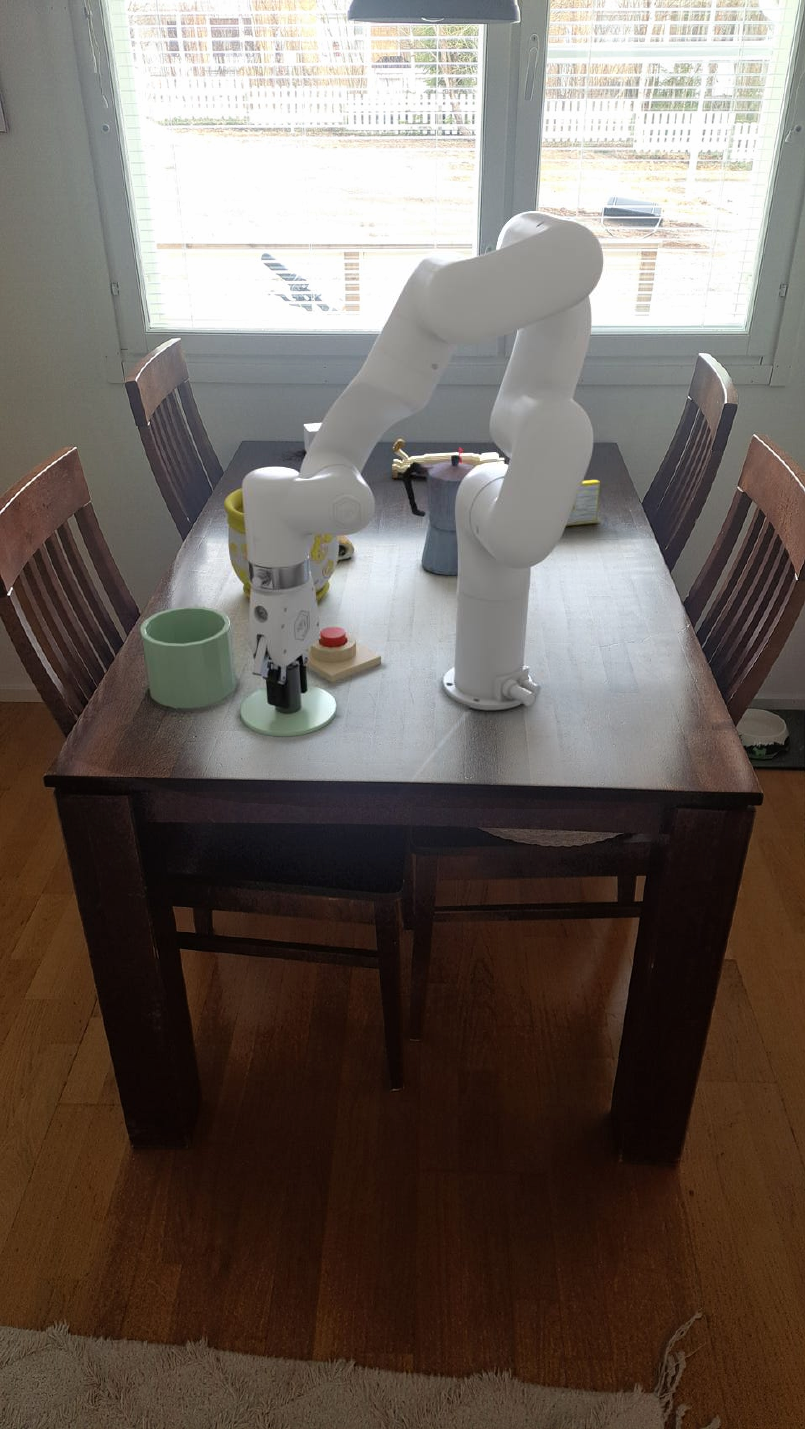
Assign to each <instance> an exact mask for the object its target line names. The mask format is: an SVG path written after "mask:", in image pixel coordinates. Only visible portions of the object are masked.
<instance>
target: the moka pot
mask: <svg viewBox="0 0 805 1429" xmlns="http://www.w3.org/2000/svg"><path fill="white" fill-rule="evenodd" d="M459 460H460V456H458V455H452V456H451V462H452V463H438V464H436V465H433V466H431V465H428V464H423V465H422V464H419V463H417V462H413V464H411V465H410V467H408V468H407V469H406V471H405V472H404V473H402V482H403V485H404V488H405V491H406V495H407V499H408V502H409V506H410V509H411V510H410V511H411V513H412V515H414V516H417V517H422V518H423V517H425V516H426V514H427V513H426V511H424V510H420V509H418V505H417V503H416V497H415V492H414V489H413V484H412V480H411V475H413V474H417V475H418V476H421V477H425V478H426V485H427V504H428V505H427V506H428V511H429V513H428V518H429V523H428V528H427V532H426V536H425V541H424V546H423V549H422V550H423V551H422V555H421V559H420V560H421V566H422V567H423V568H424V569H425V570H427V571H428V572H431V573H434V574H438V575H446V576H458V543H457V532H456V521H455V501H456V495H457V491H458V489H459V486H460V484H461V482H462V480H463V479H464V477H465V476H466V475H467V474H468V473H469V472H470V471H471V470H473V469H474V468H476V467H474V466H471V465H467V464H464V463H459ZM414 472H415V473H414Z"/></svg>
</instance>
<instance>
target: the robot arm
mask: <svg viewBox="0 0 805 1429" xmlns="http://www.w3.org/2000/svg"><path fill="white" fill-rule="evenodd" d="M603 270H604V251H603V248H602V245H601V243H600V240H599V239H598V237H597V235H595V233H594V232H593V231H592V230H591V229H590V228H588V227H587V226H586V225H584V224H582V223H580V222H578V221H576V220H573V219H569V218H565V217H561V216H558V215H556V214H552V213H549V212H544V211H536V210H535V211H532V210H531V211H525V212H521V213H518V214H516V215H515V216H513V217H511V219H510V220H508V221H507V222H506V224H505V225H504V226H503V227H502V229H501V232H500V234H499V236H498V240H497V244H496V249H494V250H492V251H489V252H486V253H482V254H480V255H479V254H478V255H476V256H471V257H469V256H466V255H464V254H461V253H458V252H455V251H451V250H435V251H432V252H429V253H427V254H425V255H423V256H422V257H421V258H420V259H419V260H418V262H416V264H415V265H414V266H413V268H412V269H411V271H410V273H409V274H408V276H407V278H406V280H405V282H404V284H403V285H402V288H401V289H400V292H399V294H398V296H397V297H396V299H395V302H394V303H393V306H392V308H391V310H390V312H389V314H388V316H387V318H386V320H385V321H384V324H383V326H382V327H381V330H380V331H379V334H378V336H377V338H376V339H375V341H374V343H373V345H372V347H371V349H370V351H369V353H368V355H367V357H366V359H365V361H364V363H363V365H362V366H361V368H360V369H359V372H358V373H357V374H356V375H355V377H353V379H351V381H350V382H349V384H348V385H347V386H346V388H345V389H344V390H343V392H341V394H340V395H339V397H338V398H336V400H335V401H334V403H333V404H332V406H331V407H330V408H329V410H328V412H326V415H325V416H324V417H323V420H322V422H320V423H321V425H320V427H319V429H318V431H317V433H316V435H315V437H314V439H313V441H312V443H311V445H310V447H309V449H308V451H307V452H306V453H305V456H304V457H303V460H302V463H301V466H300V471H298V470H296V469H293V468H289V467H284V466H265V467H261V468H257V469H254V470H252V471H250V472H248V473H247V474H246V475H245V477H244V478H243V479H242V484H241V488H242V497H243V509H244V521H245V533H246V545H247V557H248V569H249V581H250V585H251V587H252V588H251V591H250V598H249V605H248V606H249V608H248V609H249V610H248V612H249V613H248V623H249V624H248V625H249V628H248V630H249V646H250V651H251V656H252V658H253V660H254V662H253V665H252V666H253V668H252V672H251V674H252V675H253V676H257V677H261V678H262V680H264V681H265V687H266V689H267V702H268V704H270V705H273V706H277V707H281V708H285V709H288V708H289V707H290V690H289V681H286V666H288V665H289V664H290V663H292V662H293V661H294V660H297V661H298V662H299V665H300V682H301V693H306V692H307V685H308V676H307V675H308V674H307V673H308V672H307V667H306V666H305V665H306V664H307V662H308V655H307V651H308V648H310V647H311V646H312V645H313V644H314V643H315V642H316V641H317V640H318V638H319V633H320V618H319V610H318V608H319V607H318V602H317V599H316V592H315V586H314V582H313V578H312V575H311V572H310V564H309V542H308V533H309V534H322V535H334V536H351V535H354V534H356V533H357V534H358V532H360V531H362V530H364V529H365V528H366V527H368V526H369V524H370V523H371V521H372V519H373V517H374V515H375V511H376V501H375V498H374V495H373V494H374V493H373V492H372V489H371V488H370V486H369V485H368V483H367V482H366V480H365V479H364V476H363V475H362V474H361V473H362V472H363V470H364V468H365V465H366V463H367V461H368V459H369V457H370V456H371V455H372V452H373V450H374V449H375V448H376V446H377V444H378V442H379V441H380V440H381V438H382V437H383V436H384V434H385V433H387V431H388V430H389V429H390V428H391V427H392V426H394V425H395V424H396V423H398V422H400V421H402V420H404V419H406V418H409V417H411V416H413V415H415V414H418V413H419V412H420V411H422V410H423V409H424V408H425V407H426V406H427V405H428V403H429V402H430V400H431V398H432V395H433V394H434V392H435V390H436V388H437V386H438V384H439V383H440V380H441V378H442V377H443V374H444V373H445V371H446V370H447V368H448V365H449V363H450V361H451V359H452V358H453V356H454V355H455V352H456V350H457V349H458V347H461V346H463V347H469V346H474V345H479V344H482V343H486V342H488V341H493V340H495V339H498V338H500V337H503V336H506V335H509V334H511V333H514V332H516V331H517V332H516V335H515V340H514V344H513V348H512V352H511V355H510V357H509V361H508V363H507V367H506V370H505V373H504V375H503V379H502V382H501V384H500V387H499V390H498V394H497V396H496V399H495V401H494V405H493V408H492V411H491V415H490V420H489V433H490V436H491V439H492V441H493V443H494V444H495V445H496V447H498V449H499V450H500V451H501V452H502V453H503V454H504V455H505V456H506V457H507V458H509V461H508V464H507V463H506V464H503V463H497V462H492V463H485V464H482V465H479V466H477V467H476V468H474V469H473V470H471V471H470V472H469V473H468V474H467V475H466V476H465V477H464V479H463V480H462V482H461V484H460V486H459V489H458V491H457V495H456V501H455V521H456V532H457V543H458V574H457V585H456V614H455V616H456V617H455V644H454V666H453V667H451V668H449V669H448V670H447V671H446V673H444V675H443V677H442V678H443V679H442V688H443V690H444V693H446V694H447V696H448V697H450V698H451V699H452V700H454V701H456V702H458V703H461V704H463V705H465V706H468V708H469V709H473V710H474V709H475V710H481V711H503V710H509V709H512V708H514V707H518V706H520V705H524V706H526V707H530V706H532V705H533V704H534V702H535V700H536V695H538V694H539V693H540V691H541V686H540V685H539V684H537V683H536V682H534V681H533V678H532V676H531V675H530V673H529V672H530V666H528V665H526V664H525V663H524V662H525V649H526V648H525V647H526V635H527V625H528V624H527V623H528V612H529V611H528V609H529V596H530V588H531V572H532V571H531V570H532V569H531V568H532V567H534V566H536V565H538V564H540V563H542V562H543V561H544V560H546V558H548V557H549V555H551V554H552V552H553V551H554V549H555V548H556V547H557V545H558V543H559V541H560V540H561V538H562V535H563V533H564V531H565V528H566V527H567V526H566V524H567V521H568V519H569V516H570V513H571V511H572V508H573V506H574V503H575V501H576V498H577V495H578V493H579V490H580V487H581V485H582V482H583V481H585V480H584V479H585V477H586V474H587V471H588V468H589V466H590V462H591V460H592V455H593V452H594V451H593V448H594V430H593V425H592V422H591V419H590V417H589V416H588V414H587V412H586V411H585V409H583V407H582V406H581V405H580V404H579V403H578V402H576V401H575V400H574V395H575V392H576V389H577V384H578V382H579V379H580V375H581V372H582V369H583V365H584V363H585V359H586V356H587V353H588V349H589V344H590V340H591V333H592V321H593V320H592V319H593V318H592V305H591V300H590V295H591V293H593V291H594V290H595V289H596V287H597V286H598V283H599V281H600V279H601V276H602V274H603ZM272 664H274V665H278V672H277V671H276V670H274V669H272Z"/></svg>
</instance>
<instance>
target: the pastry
mask: <svg viewBox="0 0 805 1429" xmlns="http://www.w3.org/2000/svg"><path fill="white" fill-rule="evenodd" d="M338 539H339V555H338V561H341V560H348V559H350V558H351V557H352V556H353V555H354V554H355V548H354V545H353V543H352V542H351V541H350V540H349V538H347V537H346V535H344V536H338ZM338 561H337V562H338Z"/></svg>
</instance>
